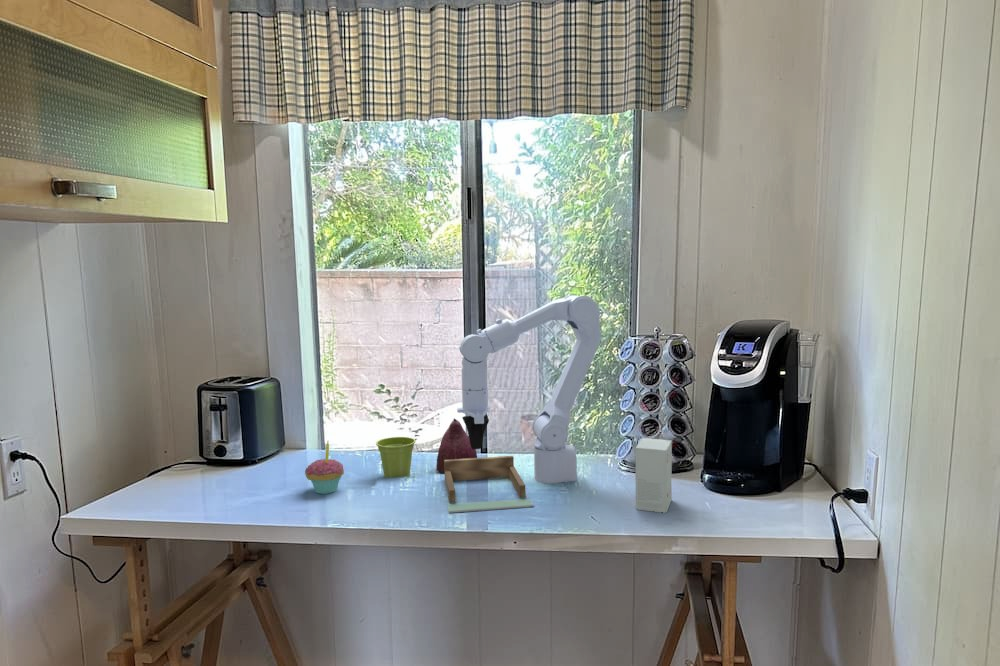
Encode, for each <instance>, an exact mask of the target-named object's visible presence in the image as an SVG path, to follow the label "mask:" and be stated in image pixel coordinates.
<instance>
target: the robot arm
mask: <svg viewBox="0 0 1000 666" xmlns="http://www.w3.org/2000/svg"><path fill="white" fill-rule="evenodd" d="M600 316H601V311H600V309H599V307H598V305H597V304H596V302H595V300H594V299H593V298H591V297H590V296H587V295H577V294H569V295H566V296H565V297H564V298H557V299H556V300H553V301H550V302H549V303H547V304H544V305H541V307H538V308H536V309H535V310H532V311H531V312H529V313H527V314H525V315H523V316H522V317H520V318H517V319H516V320H511V319H509V318H504V319H502V318H498V319H496V320H495V324H492V325H489V326H487V327H486V328H484V329H482V328H479V329H477V330H476V334H473V333H471V334H468V335H466V336H464V337H463V339H462V340H461V342H460V344H459V345H460V346H459V353H460V354H461V355H462V357H461V359H462V360H461V365H462V367H461V392H462V393H461V395H462V396H461V397H462V399H461V402H462V404H461V405H462V407H457V408H456V410H457V413H459V414H460V413H462V414H465V415H466V416H462V420H463V423H464V424H465V427H466V429H467V435H468V436H469V440H470V445H471V448H472V449H476V450H481V449H482V446H483V442H484V434H485V432H486V431H485V430H486V429H487V426H488V424H489V422H490V419H489V417H488V415H487V414H488V413H489V412H490V407H489V389H488V388H489V387H488V383H489V382H488V367H487V359H488V357H489V354H494V353H497V352H499V351H501V350H503V349H505V348H507V347H509V346H512V345H514V344H515V343H517V342H518V341H519V338H520V335H521V334H523V333H525V332H529V331H530V330H533V329H535V328H538V327H539V326H542V325H544V324H547V323H548V322H551V321H563V322H566V323H567V324H568V325H569V326H570V327H571V329H572V332H573V334H574V336H575V338H576V340H575V343H574V345H573V346H572V350H571V352H570V354H569V357H568V359H567V360H566V363H565V365H564V368H563V370H562V372H561V374H560V377H559V379H558V382H557V384H556V386H555V388H554V391H553V393H552V395H551V398H550V400H549V401H548V402H547V404H545V405H544V407H543V408H542V411H541V412H540V413H539V414H538V415H537V416H536V417H535V418H534V420H533V421H532V425H531V426H532V432H533V434H534V435H535V437H536V439H535V441H534V443H533V451H534V452H533V456H534V460H533V462H534V463H533V465H534V466H533V467H534V468H533V469H534V480H535V481H536V482H538V483H539V482H540V483H542V484H559V483H563V482H564V483H566V482H576V481H578V479H577V478H578V475H577V474H578V473H577V469H578V467H577V460H578V459H577V452H576V448H575V446H574V444H567V440H568V437H569V432H568V430H569V425H570V423H571V410H572V408H573V405H574V403H575V401H576V398H577V397H578V394H579V392H580V389H581V387H582V385H583V383H584V381H585V378H586V376H587V373H588V371H589V368H590V366H591V365H592V362H593V360H594V357H595V355H596V353H597V351H598V348H599V347H600V344H601V341H602V333H601V323H600V321H601V320H600Z"/></svg>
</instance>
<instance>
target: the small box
mask: <svg viewBox="0 0 1000 666" xmlns="http://www.w3.org/2000/svg"><path fill="white" fill-rule="evenodd" d="M672 447H673V441H672V440H669V439H661V438H659V439H658V438H646V437H643V438H641V440H640V441H639V442H638V443H637V445H636V446H635V449H634V452H635V456H634V457H635V461H634V462H635V510H637V509H638V511H646V512H647V511H648V512H653V511H654V512H655V513H661V512H663V513H662V514H666V513H667V512H668V509H669V507H670V505H671V502H672V501H673V500H672V499H673V497H672V494H673V493H672V490H673V489H672V486H673V485H672V474H673V473H672V468H673V467H672V466H673V460H672V458H673V457H672V454H673V452H672V449H673V448H672Z"/></svg>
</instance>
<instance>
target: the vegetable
mask: <svg viewBox="0 0 1000 666" xmlns="http://www.w3.org/2000/svg"><path fill="white" fill-rule="evenodd" d="M440 441H441V442H440V445H439V448H438V451H437V452H438V453H437V457H436V464H435V465H436V472H438V473H440V474H444V475H445V471H444V460H451V459H467V458H478V454H477V449H472V448H471V445H470V440H469V435H468V433H467V432H466V431H465V429H464V428H463V426H462V424H461V422H460V421H459V420H457V419H456V418H453V419H452V421H451V422H450V424H449V426H448V428H447V429H446V431H445V432H444V434H443V436H442V438H441V440H440Z"/></svg>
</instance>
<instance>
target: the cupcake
mask: <svg viewBox="0 0 1000 666" xmlns="http://www.w3.org/2000/svg"><path fill="white" fill-rule="evenodd" d="M329 454H330V443H329V440H327V443H326V444H325V458H323V459H316V460H315V461H313V462H312V463H310V464H308V466H307V467H306V469H305V470H304V474H305V478H306V480H308V481H311V483H312V486H313V489H314V491H315V493H316V494H319V495H325V494H331V493H335V492H336V491H337V490H338V487H339V483H340V480H341V478H342V476H343V475H344V473H345V471H344V470H345V469H344V466H343V463H341V462H340V461H338V460H336V459H329V457H330V456H329Z"/></svg>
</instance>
